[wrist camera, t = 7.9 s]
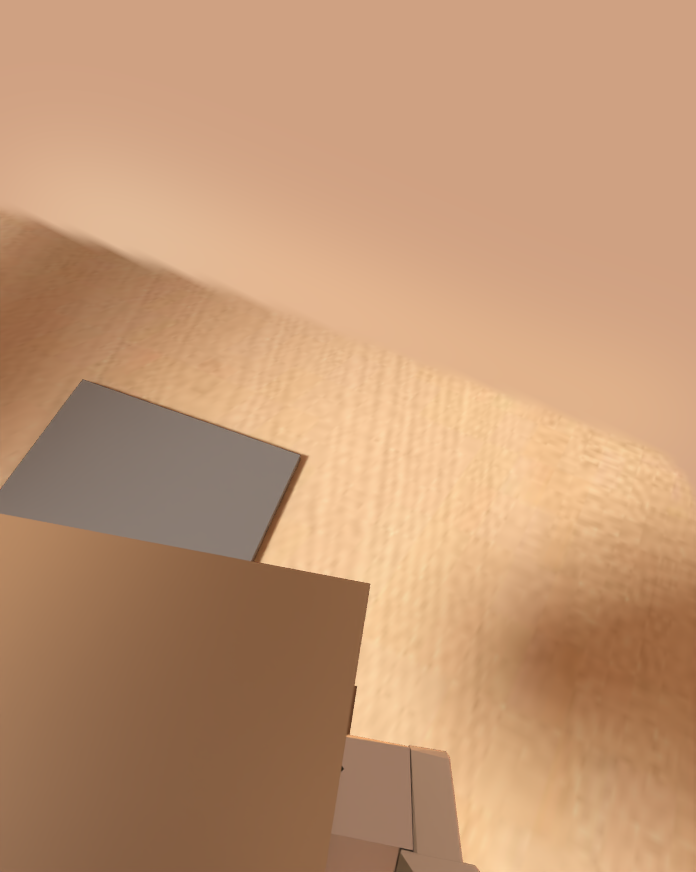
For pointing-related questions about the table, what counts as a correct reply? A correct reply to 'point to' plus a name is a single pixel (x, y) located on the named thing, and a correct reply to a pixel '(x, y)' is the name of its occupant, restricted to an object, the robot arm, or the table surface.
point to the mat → (149, 476)
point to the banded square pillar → (168, 705)
